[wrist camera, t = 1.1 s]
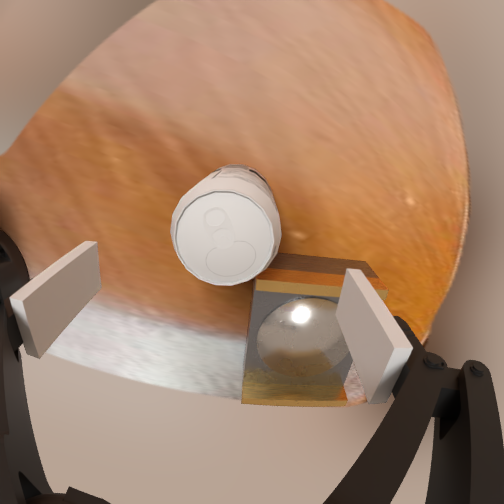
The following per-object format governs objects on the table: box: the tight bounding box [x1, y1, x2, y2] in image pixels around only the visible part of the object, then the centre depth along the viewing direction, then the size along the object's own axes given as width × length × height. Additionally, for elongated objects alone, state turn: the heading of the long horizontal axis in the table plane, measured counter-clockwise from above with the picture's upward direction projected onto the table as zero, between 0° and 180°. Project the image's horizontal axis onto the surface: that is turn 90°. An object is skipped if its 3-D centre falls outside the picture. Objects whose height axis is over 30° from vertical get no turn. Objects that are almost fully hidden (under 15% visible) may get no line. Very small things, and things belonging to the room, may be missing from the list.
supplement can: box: [170, 164, 282, 286], centre depth 28 cm, size 8×8×15 cm
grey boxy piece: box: [241, 253, 389, 407], centre depth 37 cm, size 14×18×8 cm
